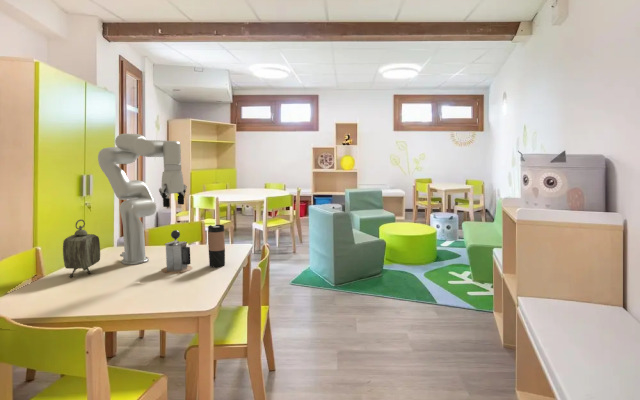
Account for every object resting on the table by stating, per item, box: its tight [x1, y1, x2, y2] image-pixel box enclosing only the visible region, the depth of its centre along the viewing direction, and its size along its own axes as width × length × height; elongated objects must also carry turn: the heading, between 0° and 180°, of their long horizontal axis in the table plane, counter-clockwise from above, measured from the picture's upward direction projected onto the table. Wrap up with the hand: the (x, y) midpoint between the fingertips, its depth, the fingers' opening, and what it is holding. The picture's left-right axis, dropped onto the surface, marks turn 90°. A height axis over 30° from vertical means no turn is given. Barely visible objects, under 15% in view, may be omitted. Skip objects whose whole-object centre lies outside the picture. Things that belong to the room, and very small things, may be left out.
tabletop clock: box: [62, 219, 101, 278], centre depth 186 cm, size 14×9×25 cm, turn 1°
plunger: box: [170, 229, 181, 244], centre depth 192 cm, size 6×6×15 cm
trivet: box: [160, 265, 193, 275], centre depth 193 cm, size 14×14×1 cm
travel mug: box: [207, 224, 226, 268], centre depth 198 cm, size 8×8×20 cm
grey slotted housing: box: [164, 240, 192, 272], centre depth 192 cm, size 12×9×13 cm
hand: (173, 205), depth 190 cm, fingers open, 9 cm apart
